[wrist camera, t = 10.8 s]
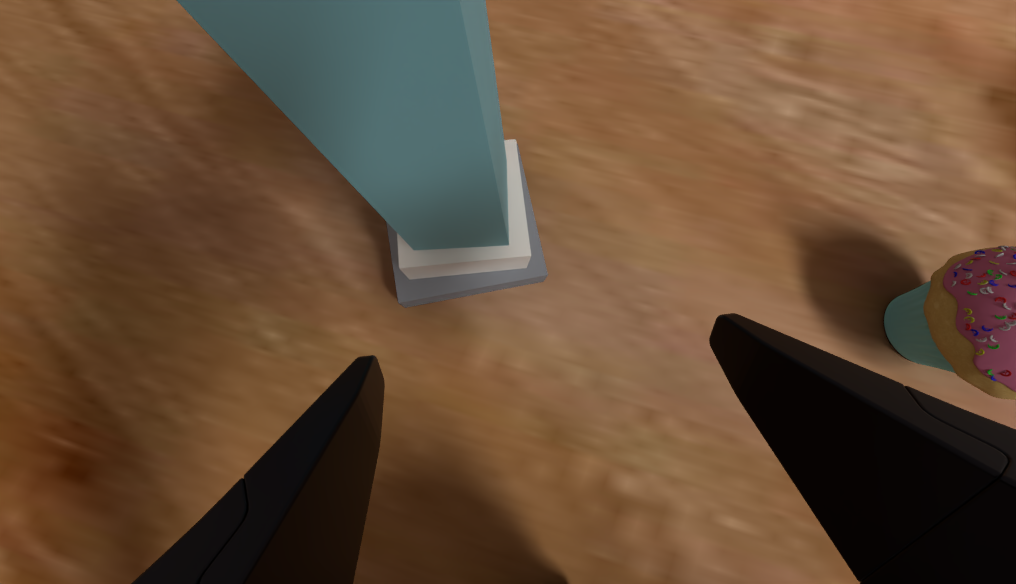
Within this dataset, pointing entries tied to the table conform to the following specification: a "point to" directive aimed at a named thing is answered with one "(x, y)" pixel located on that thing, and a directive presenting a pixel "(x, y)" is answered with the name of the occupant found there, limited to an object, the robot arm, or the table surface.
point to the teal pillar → (385, 102)
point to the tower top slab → (477, 258)
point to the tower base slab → (474, 283)
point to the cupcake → (963, 320)
